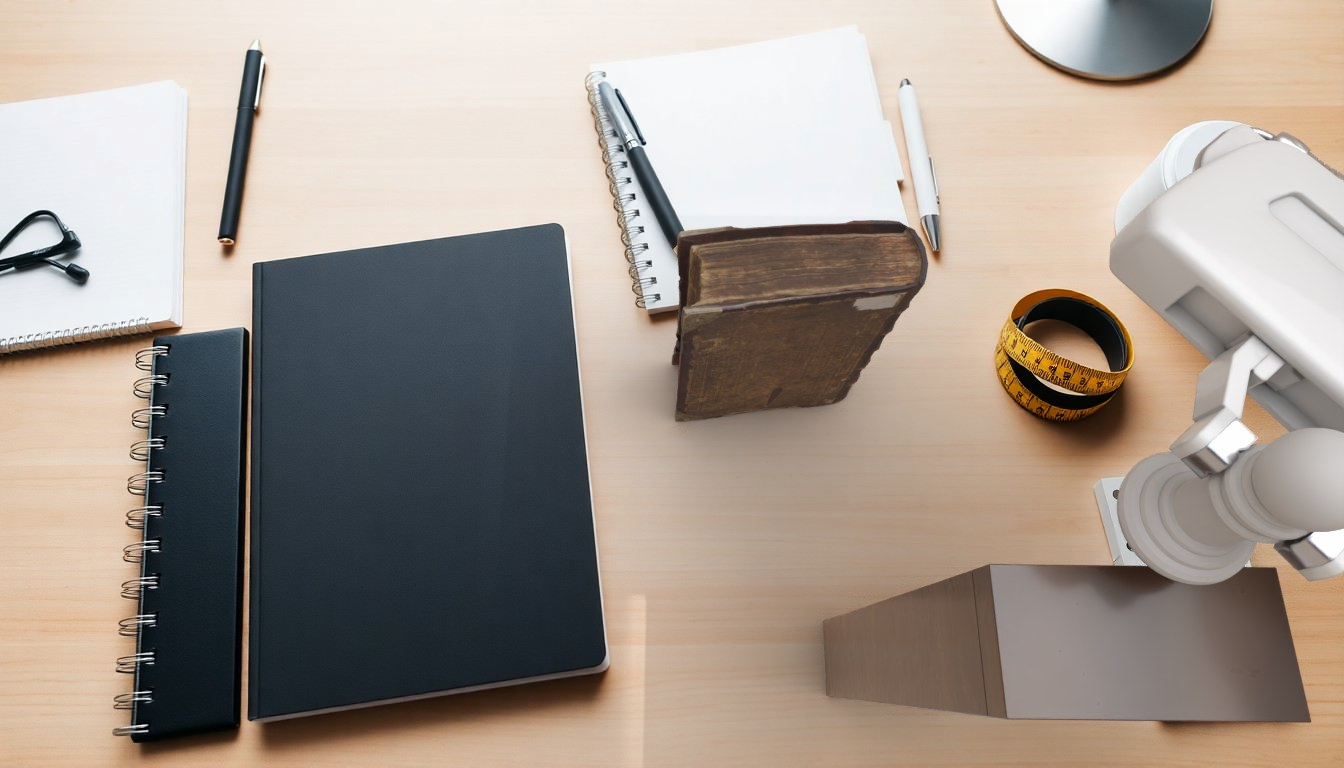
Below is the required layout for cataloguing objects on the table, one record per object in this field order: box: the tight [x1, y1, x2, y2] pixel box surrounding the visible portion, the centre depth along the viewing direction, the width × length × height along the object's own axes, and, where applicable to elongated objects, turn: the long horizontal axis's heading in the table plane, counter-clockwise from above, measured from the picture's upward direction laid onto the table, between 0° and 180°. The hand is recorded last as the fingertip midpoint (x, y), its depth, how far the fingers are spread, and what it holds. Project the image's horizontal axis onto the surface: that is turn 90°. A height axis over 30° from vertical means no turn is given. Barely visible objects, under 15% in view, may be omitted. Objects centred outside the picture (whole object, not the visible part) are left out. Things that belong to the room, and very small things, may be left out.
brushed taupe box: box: [822, 563, 1312, 724], centre depth 51 cm, size 12×6×38 cm, turn 89°
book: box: [671, 219, 929, 422], centre depth 65 cm, size 17×7×25 cm, turn 90°
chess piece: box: [1116, 428, 1344, 585], centre depth 29 cm, size 5×5×9 cm
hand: (1248, 511), depth 29 cm, fingers closed on chess piece, 3 cm apart
